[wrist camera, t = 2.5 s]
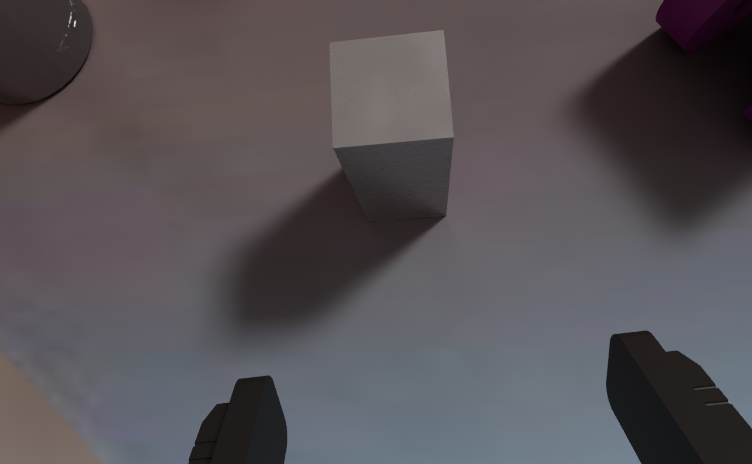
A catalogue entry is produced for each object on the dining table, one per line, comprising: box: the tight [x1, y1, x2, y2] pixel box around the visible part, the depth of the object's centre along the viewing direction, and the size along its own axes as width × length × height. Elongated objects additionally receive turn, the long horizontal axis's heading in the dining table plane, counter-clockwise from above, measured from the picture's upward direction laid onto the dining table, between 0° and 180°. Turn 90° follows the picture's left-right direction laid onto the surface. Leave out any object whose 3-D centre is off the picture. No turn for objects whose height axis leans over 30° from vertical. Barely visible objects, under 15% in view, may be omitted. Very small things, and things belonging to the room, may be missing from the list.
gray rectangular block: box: [330, 30, 454, 222], centre depth 25 cm, size 4×4×11 cm
